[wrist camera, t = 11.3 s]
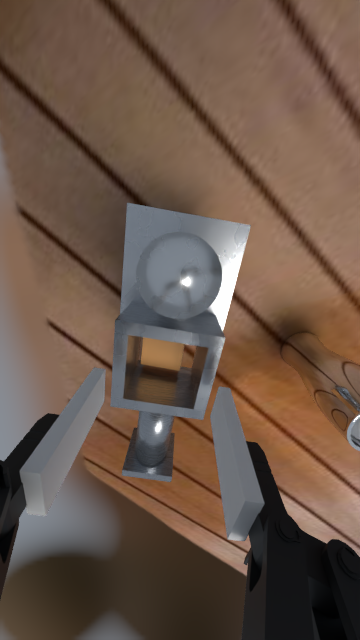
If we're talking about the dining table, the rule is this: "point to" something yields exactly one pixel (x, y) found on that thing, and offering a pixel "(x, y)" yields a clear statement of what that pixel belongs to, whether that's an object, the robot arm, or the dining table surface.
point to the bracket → (161, 384)
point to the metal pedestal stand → (180, 264)
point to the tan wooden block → (162, 353)
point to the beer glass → (328, 382)
